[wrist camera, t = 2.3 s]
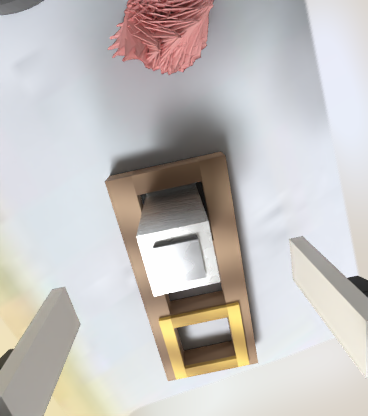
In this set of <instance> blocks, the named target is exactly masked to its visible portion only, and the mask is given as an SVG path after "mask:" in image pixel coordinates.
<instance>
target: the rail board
mask: <svg viewBox="0 0 368 416" xmlns="http://www.w3.org/2000/svg"><path fill="white" fill-rule="evenodd" d="M196 182H201V184H202V189H203V194H204V199H205V204H206V209H207V215H208V220H209V225H210V230H211V237H212V242H213V247H214V252H215V256H216V261H217V266H218V271H219V277H220V282H221V287H222V291H217V292H212V293H207V294H202V295H198V296H193V297H188V298H183V299H178V300H174V301H170V299H169V296H168V293H166V294H162V295H157V296H154V295H153V291H152V288H151V284H150V281H149V278H148V274H147V271H146V268H145V264H144V261H143V258H142V254H141V251H140V248H139V244H138V241H137V238H136V235H137V231H138V227H139V222H140V218H141V214H142V210H143V206H144V205H143V202H142V198H141V194H146V193H150V192H155V191H159V190H164V189H169V188H173V187H178V186H182V185H187V184H192V183H196ZM105 184H106V187H107V190H108V193H109V196H110V199H111V203H112V206H113V209H114V212H115V215H116V218H117V222H118V225H119V228H120V231H121V234H122V237H123V240H124V244H125V247H126V250H127V253H128V256H129V259H130V263H131V266H132V269H133V272H134V275H135V278H136V281H137V285H138V288H139V291H140V294H141V297H142V300H143V304H144V307H145V310H146V313H147V316H148V319H149V322H150V326H151V329H152V332H153V335H154V338H155V341H156V345H157V348H158V351H159V354H160V357H161V360H162V363H163V367H164V370H165V373H166V376H167V379H168V381H171V380H176V379H181V378H186V377H191V376H196V375H201V374H206V373H211V372H216V371H221V370H225V369H230V368H235V367H240V366H245V365H250V364H255V363H258V360H257V353H256V347H255V341H254V334H253V328H252V321H251V315H250V309H249V302H248V296H247V290H246V283H245V277H244V271H243V264H242V258H241V251H240V245H239V239H238V232H237V226H236V220H235V213H234V207H233V201H232V194H231V188H230V181H229V175H228V169H227V162H226V156H225V155H224V154H223V153H222V152H216V153H212V154H207V155H203V156H198V157H194V158H189V159H184V160H180V161H175V162H171V163H166V164H162V165H157V166H152V167H148V168H143V169H139V170H134V171H130V172H125V173H120V174H116V175H111V176H109V177H108V178H107V180H106V181H105ZM226 317H227V318H228V323H229V328H230V333H231V338H232V341H228V342H224V343H219V344H214V345H209V346H204V347H199V348H194V349H189V350H185V351H184V350H183V347H182V343H181V339H180V336H179V332H178V327H182V326H187V325H192V324H197V323H202V322H207V321H211V320H216V319H221V318H226Z"/></svg>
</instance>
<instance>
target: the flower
mask: <svg viewBox="0 0 368 416" xmlns="http://www.w3.org/2000/svg"><path fill="white" fill-rule="evenodd" d="M213 1H214V0H128V2H127V9H126V10H125V11H124V12H125V16H124V22H122V23H120V24H118V25H116V26H117V27H118V26H120V27H121V28H120V29H119V30H118V32H117V33H116V34H115V35H113V36H111V37H110V39H114V38H118V39H117V40H116V41H115V43H114V44H113V45H112V46H110V47H109V48H108V50H112V49H115V48H118V50H117V52H116V53H115V54H113V57H112V58H114V57H115V56H117V55H121V56H125V57H124V58H123V60H122V61H123V62H124V61H127V60H132V59H139V60H141V61H142V62H143V63H144V65H145V67H146V68H148V69H150V68H151V69H152V70H153V71H155V70H157V69H160V70H161V74H164V73H166V72H168V74H169V75H170V74H172V73H176V72H177V71H180V72H184V70H185V69H186V68H188V67H189V66H192V65H193V63H194V62H195V60H196V59H198V58H200V57H201V50H202V49H204V48H205V47H206V46H207V44H206V41H207V34H208V24H209V20H208V16H209V11H210V9H211V8H212V7H213V5H212V4H213Z"/></svg>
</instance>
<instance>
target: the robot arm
mask: <svg viewBox="0 0 368 416" xmlns="http://www.w3.org/2000/svg"><path fill="white" fill-rule="evenodd" d="M42 1H44V0H0V15H8V14H13V13H17V12H21V11H24V10H27V9H29V8H31V7H33V6H35V5H37V4H39V3H40V2H42ZM289 242H290V253H291V264H292V274H293V280H294V282H295V283H296V284H297V286H298V287H299V288H300V290H301V291H302V293H303V294H304V295H305V297H306V298H307V299H308V301H309V302H310V303H311V305H312V306H313V308H314V309H315V310H316V312H317V313H318V314H319V316H320V317H321V318H322V320H323V321H324V323H325V324H326V325H327V327H328V328H329V329H330V331H331V332H332V333H333V335H334V336H335V338H336V339H337V340H338V341H339V343H340V344H341V346H342V347H343V348H344V350H345V351H346V352H347V354H348V355H349V357H350V358H351V359H352V360H353V362H354V363H355V365H356V366H357V367H358V369H359V370H360V371H361V373H362V374H363V376H364V377H365V378H368V280H366V279H364V278H362V277H360V276H354V277H349V278H346V277H345V276H344V275H343V274H342V273H341V272H340V271H339V270H338V269H337V268H336V267H335V266H334V265H333V264H332V263H330V262H329V261H328V260H327V259H326V258H325V257H324V256H323V255H322V254H321V253H320V252H319V251H318V250H317V249H316V248H315V247H313V246H312V245H311V244H310V243H309V242H308V241H307V240H306V239H305V238H304V237H303V236H301V237H296V238H291V239H289ZM79 327H80V322H79V319H78V317H77V315H76V312H75V310H74V307H73V305H72V303H71V300H70V298H69V295H68V293H67V291H66V288H65V287H62V288H57V289H52V290H51V292H50V293H49V295H48V297H47V298H46V300H45V301H44V303H43V304H42V306H41V308H40V309H39V311H38V312H37V314H36V315H35V317H34V318H33V320H32V322H31V323H30V325H29V326H28V328H27V329H26V331H25V332H24V334H23V336H22V337H21V339H20V340H19V342H18V343H17V345H16V347H15V348H14V349H10V350H8V351H7V352H6V353H5V354H4V355H3V356H2V357H1V358H0V416H44V413H45V411H46V409H47V406H48V404H49V401H50V399H51V396H52V394H53V391H54V389H55V386H56V384H57V381H58V379H59V376H60V374H61V371H62V369H63V366H64V364H65V362H66V359H67V357H68V354H69V352H70V349H71V347H72V344H73V342H74V339H75V337H76V334H77V332H78V329H79Z"/></svg>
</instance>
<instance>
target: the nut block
mask: <svg viewBox="0 0 368 416" xmlns="http://www.w3.org/2000/svg"><path fill="white" fill-rule="evenodd" d="M136 238H137V241H138V244H139V248H140V251H141V254H142V258H143V261H144V264H145V268H146V271H147V274H148V278H149V281H150V284H151V288H152V291H153V295H154V296H157V295H162V294H166V293H171V292H176V291H181V290H186V289H190V288H195V287H200V286H205V285H210V284H214V283H219V282H220V278H219V273H218V268H217V262H216V257H215V252H214V247H213V242H212V237H211V231H210V226H209V221H208V218H207V215H206V212H205V210H204V207H203V204H202V201H201V198H200V195H199V192H198V189H197V187H196V184H195V183H192V184H187V185H182V186H178V187H173V188H169V189H164V190H159V191H155V192H150V193H146V197H145V201H144V206H143V210H142V214H141V218H140V222H139V227H138V231H137V235H136Z"/></svg>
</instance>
